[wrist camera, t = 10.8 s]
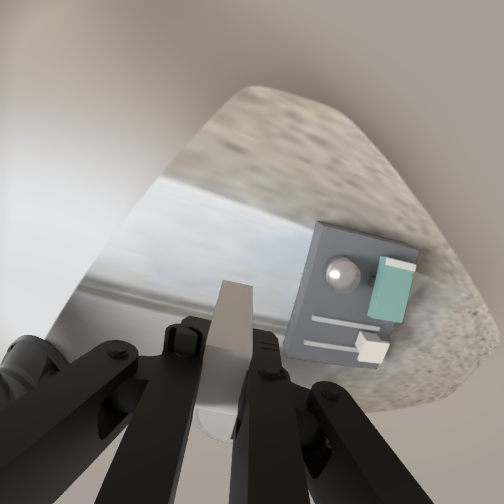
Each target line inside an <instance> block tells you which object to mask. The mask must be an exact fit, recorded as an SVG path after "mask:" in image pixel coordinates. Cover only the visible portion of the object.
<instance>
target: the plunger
mask: <svg viewBox="0 0 504 504" xmlns="http://www.w3.org/2000/svg"><path fill="white" fill-rule="evenodd" d="M323 274H324V277H325V279H326V281H327V282H328V284H329V285H330V287H331V288H332V289H333V290H334V291H335V292H337V293H340V294H347V293H350V292H352V291H353V290H355V289H356V288H357V286H358V285H359V283H360V279H361V273H360V270H359V268H358V267H357V266H356V265H355V264H354V263H353V262H352V261H351V260H350V259H349V258H348V257H346V256H344V255H335V256H332V257H331V258H329V259H328V260H327V261H326V263H325V265H324V268H323Z"/></svg>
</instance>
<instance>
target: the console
mask: <svg viewBox="0 0 504 504" xmlns="http://www.w3.org/2000/svg"><path fill="white" fill-rule="evenodd" d="M418 254H419V250H417V249H415V248H413V247H411V246H409V245H407V244H404V243H401V242H397V241H393V240H390V239H386V238H382V237H378V236H374V235H370V234H367V233H363V232H359V231H355V230H351V229H347V228H343V227H339V226H335V225H331V224H327V223H323V222H318V221H316V225H315V229H314V233H313V237H312V241H311V245H310V249H309V253H308V257H307V261H306V264H305V268H304V272H303V276H302V279H301V283H300V287H299V290H298V294H297V297H296V301H295V305H294V308H293V312H292V315H291V319H290V322H289V325H288V329H287V332H286V336H285V339H284V348H285V354H286V357H287V358H293V359H299V360H306V361H313V362H320V363H327V364H335V365H343V366H351V367H360V368H369V369H377V367H378V364H379V363H370V362H361V361H358V359H357V358H358V356H359V351H358V349H357V348H356V346H355V342H356V340H357V337H358V334H359V332H360V331H365V332H371V333H376V334H377V335H378V336H379V338H380V339H381V340H382V341H387V342H388V341H389V338H390V336H391V333H392V330H393V328H394V325H395V323H396V322H392V321H386V320H380V319H374V318H371V317H369V316H368V315H367V313H368V309H369V305H370V301H371V297H372V293H373V288H374V284H375V279H376V275H377V270H378V265H379V260H380V256H382V257H389V258H393V259H398V260H402V261H406V262H410V263H414V264H416V261H417V258H418ZM335 255H344V256H346V257H348V258H349V259H350V260H351V261H352V262H353V263H354V264H355V265H356V266H357V267H358V268H359V270H360V273H361V279H360V283H359V285H358V286H357V288H356V289H355V290H353V291H352V292H350V293H347V294H340V293H337V292H335V291H334V290H333V289H332V288H331V287H330V285H329V284H328V282H327V281H326V279H325V277H324V274H323V268H324V265H325V263H326V261H327V260H328V259H329V258H331V257H332V256H335Z"/></svg>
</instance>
